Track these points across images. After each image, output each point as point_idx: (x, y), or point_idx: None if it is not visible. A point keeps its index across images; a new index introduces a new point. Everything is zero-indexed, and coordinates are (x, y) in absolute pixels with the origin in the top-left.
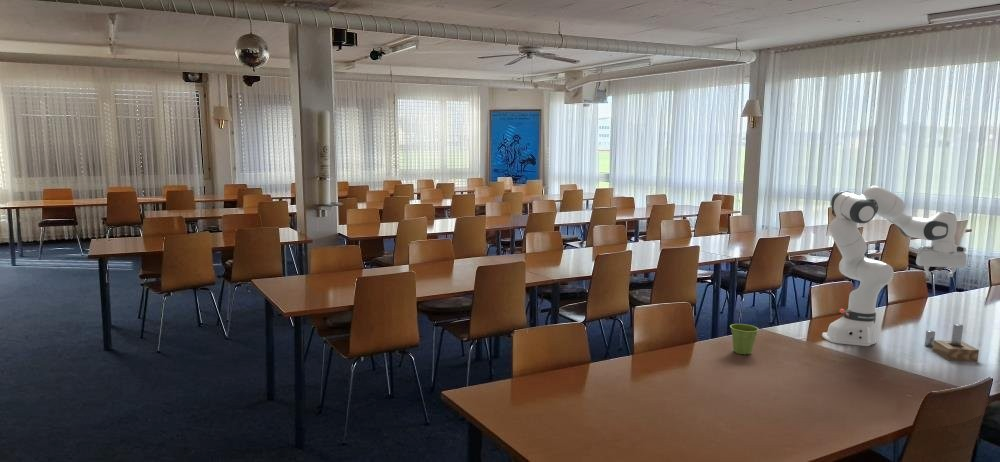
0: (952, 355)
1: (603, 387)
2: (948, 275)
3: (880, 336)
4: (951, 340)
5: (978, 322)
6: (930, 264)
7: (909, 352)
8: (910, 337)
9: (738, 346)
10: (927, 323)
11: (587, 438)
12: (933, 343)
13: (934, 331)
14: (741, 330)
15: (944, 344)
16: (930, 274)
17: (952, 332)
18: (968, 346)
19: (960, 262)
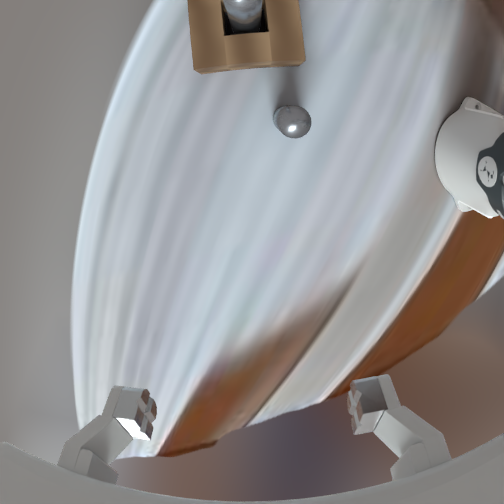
0: None
1: None
2: (149, 407)
3: (396, 203)
4: (260, 15)
5: (91, 368)
6: (437, 495)
7: (381, 44)
8: (306, 212)
9: None
10: (194, 355)
11: None
12: (302, 62)
13: (278, 124)
14: None
15: (287, 13)
16: (363, 393)
17: (261, 3)
18: (202, 11)
19: (9, 501)
